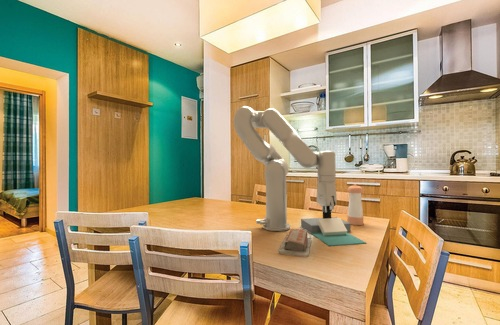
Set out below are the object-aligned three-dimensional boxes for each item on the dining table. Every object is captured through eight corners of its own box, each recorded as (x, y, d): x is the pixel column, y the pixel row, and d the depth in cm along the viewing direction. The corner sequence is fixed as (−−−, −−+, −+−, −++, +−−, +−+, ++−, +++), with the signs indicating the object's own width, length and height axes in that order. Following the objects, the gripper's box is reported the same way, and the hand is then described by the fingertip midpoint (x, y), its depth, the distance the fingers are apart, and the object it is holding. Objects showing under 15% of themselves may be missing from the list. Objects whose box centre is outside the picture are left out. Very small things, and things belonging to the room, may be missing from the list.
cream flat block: (323, 235, 99) (324, 232, 98) (317, 221, 105) (318, 218, 104) (345, 234, 101) (347, 231, 100) (338, 220, 107) (340, 217, 105)
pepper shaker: (359, 221, 123) (358, 183, 123) (366, 225, 116) (366, 185, 116) (344, 221, 123) (344, 183, 123) (351, 225, 116) (351, 185, 116)
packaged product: (286, 226, 99) (311, 228, 96) (286, 238, 99) (311, 241, 96) (277, 240, 82) (308, 243, 79) (277, 255, 82) (308, 258, 79)
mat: (328, 246, 88) (328, 245, 88) (311, 233, 103) (311, 232, 103) (366, 243, 91) (366, 242, 91) (344, 231, 106) (344, 230, 106)
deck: (311, 233, 103) (311, 225, 103) (301, 226, 115) (301, 218, 115) (350, 231, 106) (350, 223, 106) (336, 224, 118) (336, 217, 118)
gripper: (311, 178, 113) (311, 217, 113) (326, 180, 99) (327, 226, 99) (326, 177, 115) (326, 216, 115) (343, 180, 100) (344, 224, 100)
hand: (327, 220), depth 107 cm, fingers closed
